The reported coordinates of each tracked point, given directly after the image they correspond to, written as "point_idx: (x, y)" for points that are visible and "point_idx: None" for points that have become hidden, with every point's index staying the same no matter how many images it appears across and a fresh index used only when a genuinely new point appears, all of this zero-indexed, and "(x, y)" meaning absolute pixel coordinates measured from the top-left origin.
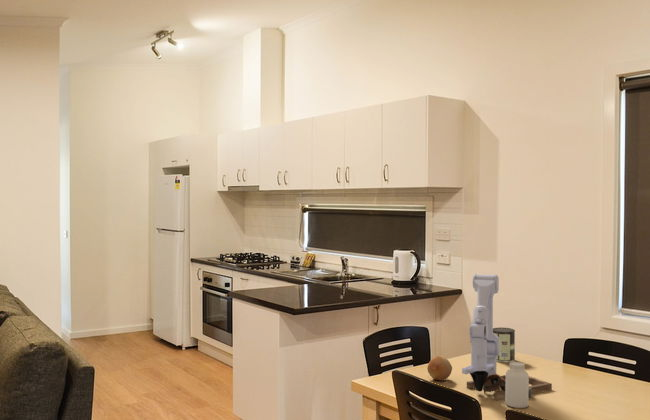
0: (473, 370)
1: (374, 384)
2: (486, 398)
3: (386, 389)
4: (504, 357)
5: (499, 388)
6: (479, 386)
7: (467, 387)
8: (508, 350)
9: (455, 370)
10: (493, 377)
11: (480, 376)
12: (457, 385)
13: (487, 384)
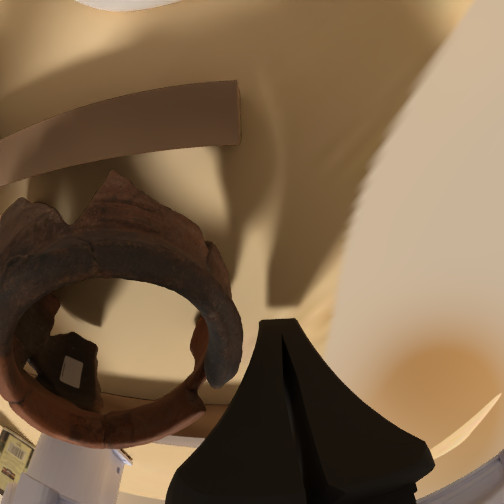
0: (493, 502)
1: (457, 437)
2: (299, 193)
3: (480, 411)
4: (18, 446)
5: (103, 184)
6: (315, 350)
7: None
8: (5, 454)
9: (166, 484)
10: (70, 409)
11: (386, 454)
12: None
13: (109, 400)
